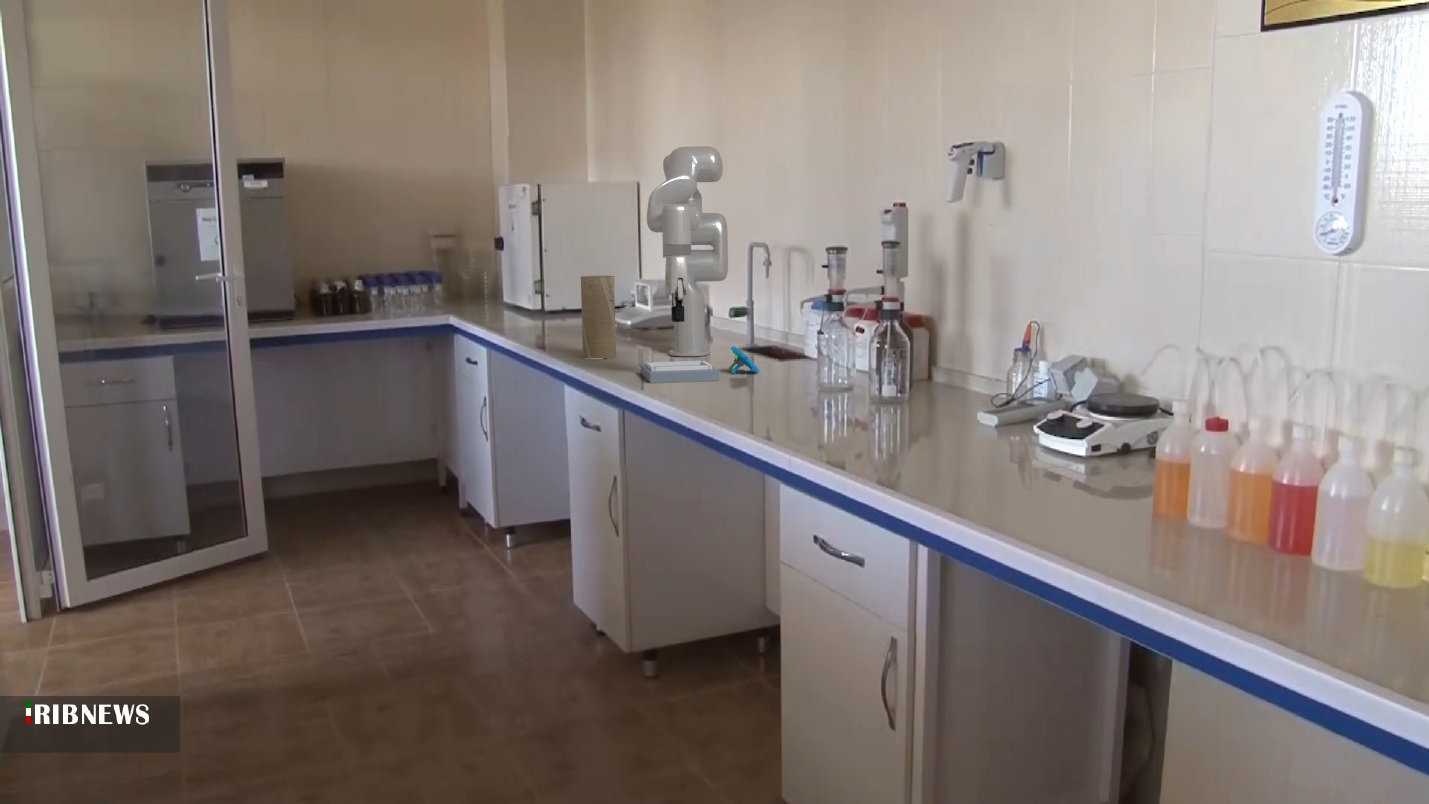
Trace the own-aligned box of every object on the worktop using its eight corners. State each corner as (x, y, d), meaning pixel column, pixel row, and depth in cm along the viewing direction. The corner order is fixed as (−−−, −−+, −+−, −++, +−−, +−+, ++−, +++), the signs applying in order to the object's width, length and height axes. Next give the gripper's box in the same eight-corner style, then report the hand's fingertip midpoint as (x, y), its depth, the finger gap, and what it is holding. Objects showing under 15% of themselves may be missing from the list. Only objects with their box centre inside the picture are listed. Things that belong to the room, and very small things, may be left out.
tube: (618, 357, 354) (616, 275, 350) (612, 361, 344) (610, 277, 340) (586, 357, 355) (584, 275, 351) (579, 360, 345) (577, 277, 341)
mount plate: (640, 373, 315) (640, 360, 314) (705, 371, 318) (705, 358, 318) (650, 383, 296) (650, 369, 295) (719, 380, 299) (719, 367, 298)
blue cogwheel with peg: (765, 371, 308) (740, 345, 305) (750, 387, 307) (725, 361, 304) (752, 367, 318) (729, 341, 315) (738, 382, 318) (714, 357, 315)
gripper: (658, 251, 308) (660, 319, 311) (667, 252, 294) (668, 324, 296) (686, 251, 310) (687, 319, 312) (695, 252, 295) (696, 323, 298)
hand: (678, 321), depth 304 cm, fingers closed
